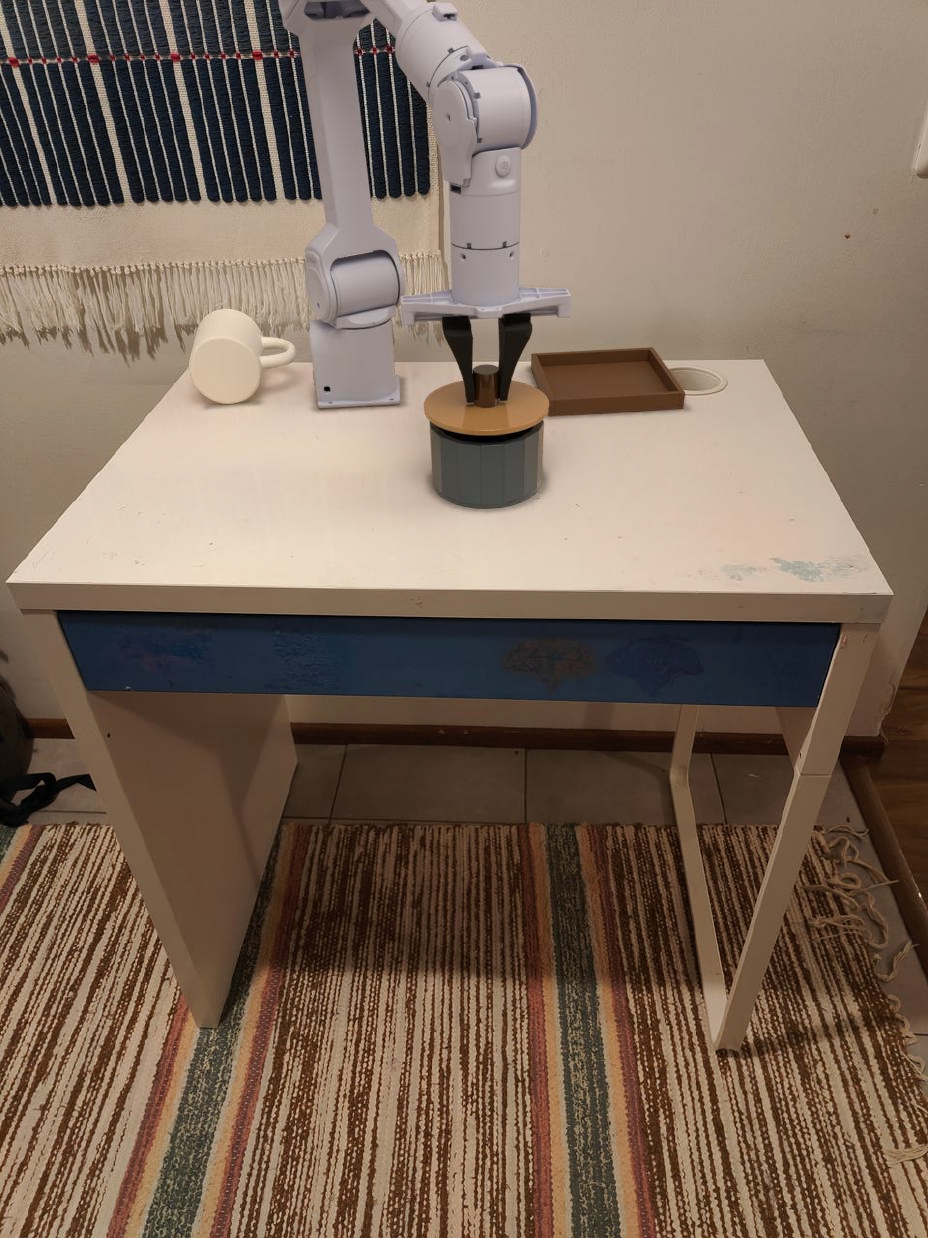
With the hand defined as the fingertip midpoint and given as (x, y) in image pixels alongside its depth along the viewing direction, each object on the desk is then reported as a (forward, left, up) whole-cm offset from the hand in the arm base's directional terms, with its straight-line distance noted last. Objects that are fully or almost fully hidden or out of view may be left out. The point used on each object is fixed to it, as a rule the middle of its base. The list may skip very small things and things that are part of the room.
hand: (485, 397), depth 79 cm
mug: (-26, +27, -9) cm, 39 cm away
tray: (+16, +21, -9) cm, 28 cm away
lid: (0, 0, -1) cm, 1 cm away
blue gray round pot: (0, 0, -9) cm, 9 cm away
